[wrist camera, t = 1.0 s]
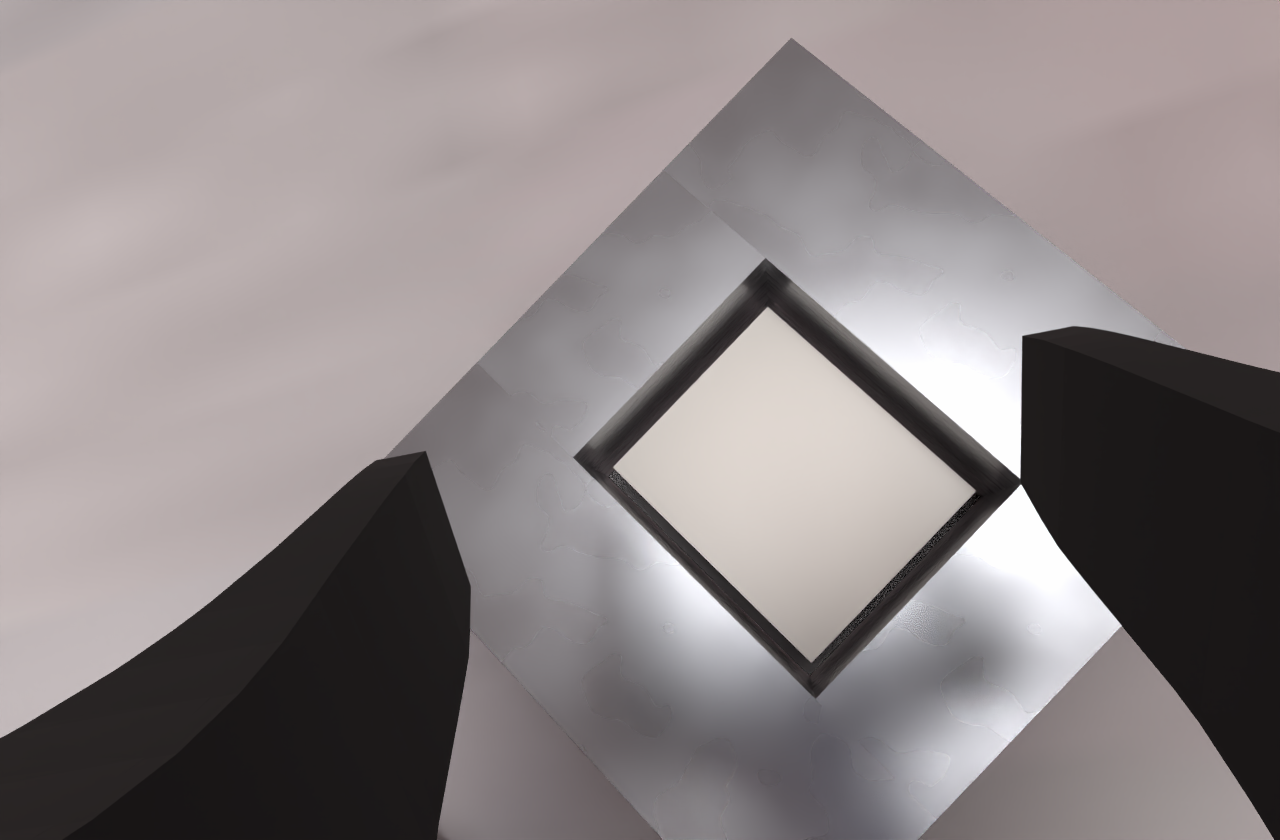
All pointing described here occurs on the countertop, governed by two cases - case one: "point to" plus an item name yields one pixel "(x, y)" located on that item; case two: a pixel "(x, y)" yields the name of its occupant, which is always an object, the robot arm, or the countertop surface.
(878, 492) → the block
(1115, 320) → the socket plate
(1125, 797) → the countertop surface
